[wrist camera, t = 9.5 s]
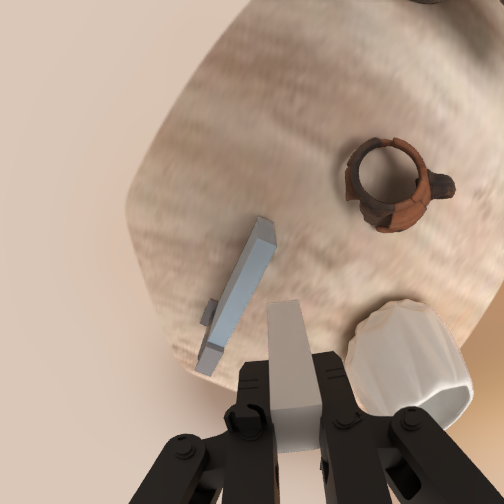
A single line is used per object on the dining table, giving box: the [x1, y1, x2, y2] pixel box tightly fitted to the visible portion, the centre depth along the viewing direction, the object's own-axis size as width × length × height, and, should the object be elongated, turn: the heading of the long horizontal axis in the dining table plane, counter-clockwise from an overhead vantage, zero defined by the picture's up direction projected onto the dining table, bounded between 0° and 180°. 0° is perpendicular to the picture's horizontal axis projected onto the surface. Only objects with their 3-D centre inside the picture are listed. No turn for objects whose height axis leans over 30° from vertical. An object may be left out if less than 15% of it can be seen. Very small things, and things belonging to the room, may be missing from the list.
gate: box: [195, 216, 277, 377], centre depth 27 cm, size 14×2×9 cm, turn 156°
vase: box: [344, 299, 474, 430], centre depth 26 cm, size 14×14×15 cm
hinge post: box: [198, 299, 218, 360], centre depth 29 cm, size 4×4×8 cm
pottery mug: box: [345, 138, 456, 233], centre depth 25 cm, size 12×10×8 cm
